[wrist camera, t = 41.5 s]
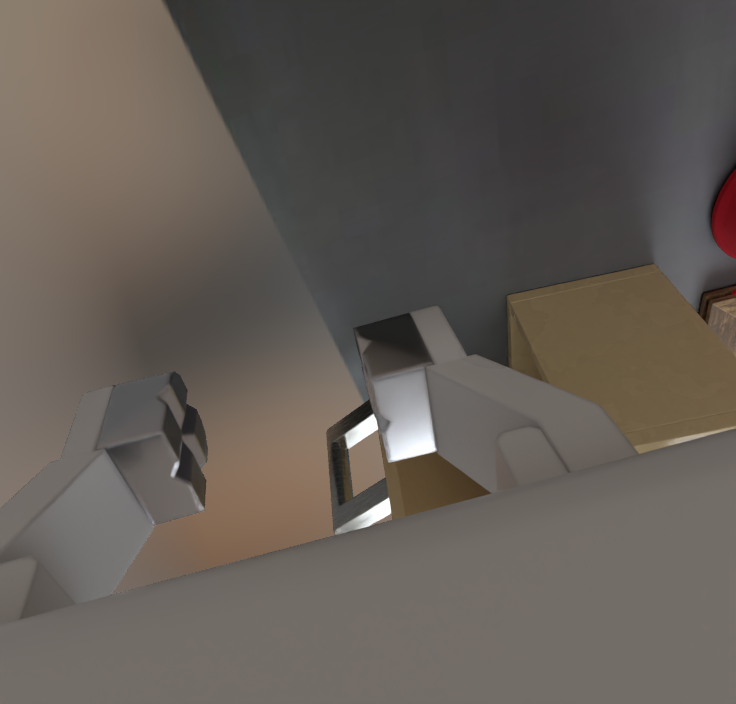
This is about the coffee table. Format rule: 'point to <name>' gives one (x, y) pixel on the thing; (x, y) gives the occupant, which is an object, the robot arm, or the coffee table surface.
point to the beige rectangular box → (628, 354)
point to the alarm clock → (726, 218)
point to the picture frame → (721, 315)
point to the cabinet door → (389, 479)
